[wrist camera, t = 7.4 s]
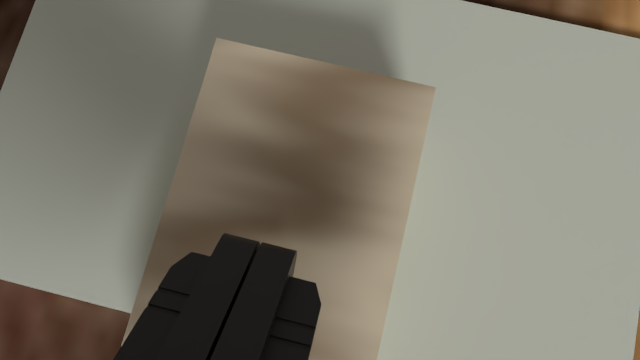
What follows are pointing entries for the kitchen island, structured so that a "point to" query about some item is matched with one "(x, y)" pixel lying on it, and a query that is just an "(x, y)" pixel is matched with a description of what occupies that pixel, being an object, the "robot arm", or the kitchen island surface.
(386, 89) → the birch block
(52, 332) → the kitchen island surface
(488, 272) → the sage mat
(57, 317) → the kitchen island surface
